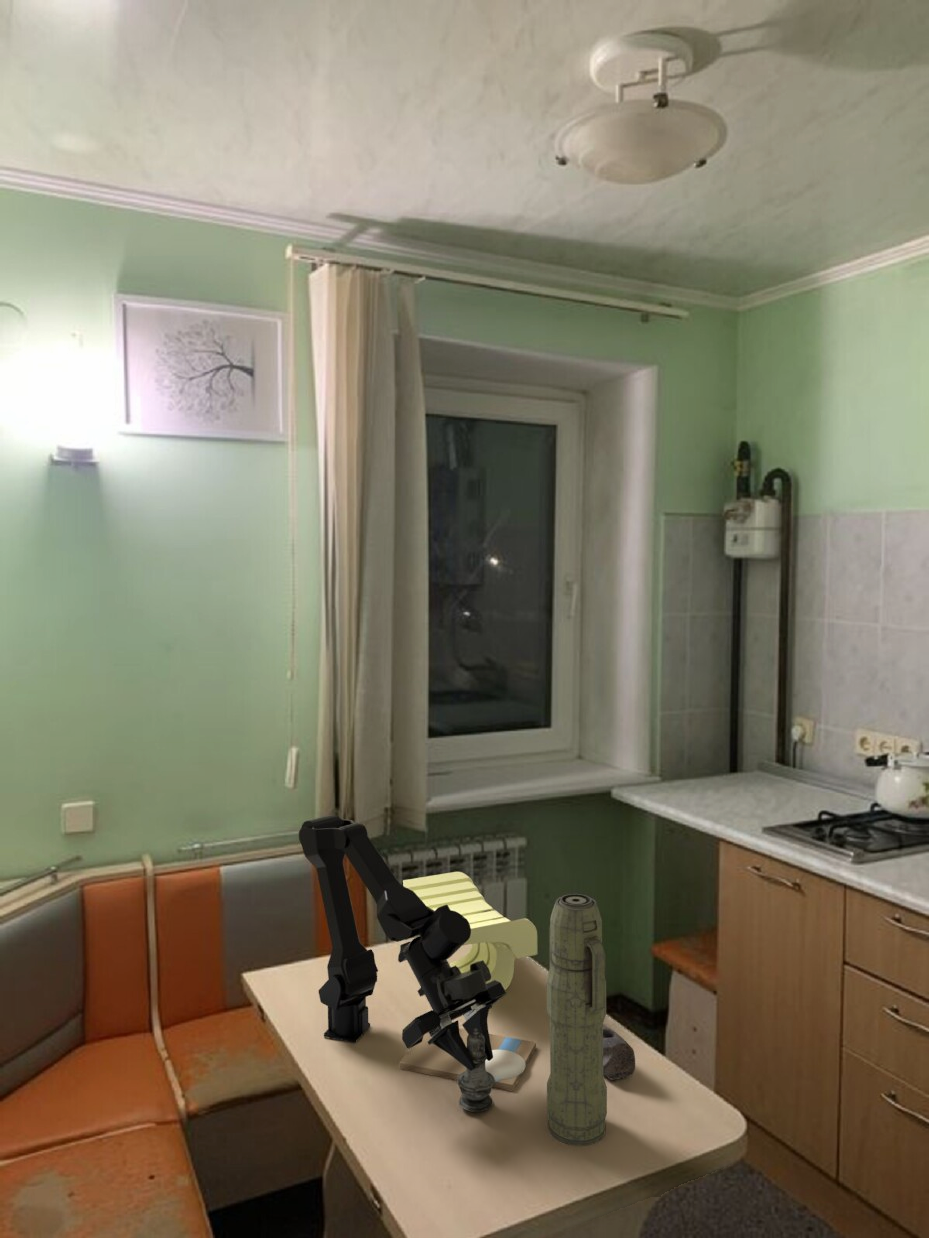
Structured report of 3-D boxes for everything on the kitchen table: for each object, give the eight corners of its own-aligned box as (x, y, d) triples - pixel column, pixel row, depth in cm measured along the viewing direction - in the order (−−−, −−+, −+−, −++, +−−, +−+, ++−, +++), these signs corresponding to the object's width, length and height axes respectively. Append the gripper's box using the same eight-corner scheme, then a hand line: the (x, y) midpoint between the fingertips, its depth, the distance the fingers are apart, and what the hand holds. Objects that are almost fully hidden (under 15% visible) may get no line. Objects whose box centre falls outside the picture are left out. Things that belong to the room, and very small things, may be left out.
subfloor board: (399, 1068, 153) (399, 1062, 153) (430, 1028, 166) (430, 1022, 166) (515, 1091, 146) (515, 1084, 146) (538, 1047, 159) (538, 1041, 159)
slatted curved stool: (537, 1006, 174) (537, 915, 173) (462, 1024, 168) (461, 930, 167) (471, 947, 202) (470, 869, 201) (404, 961, 195) (403, 880, 194)
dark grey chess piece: (468, 1117, 138) (467, 1040, 138) (450, 1096, 143) (450, 1023, 143) (501, 1106, 141) (501, 1031, 140) (483, 1086, 146) (483, 1014, 145)
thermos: (583, 1159, 129) (582, 918, 127) (529, 1119, 139) (527, 894, 137) (626, 1135, 134) (626, 904, 133) (571, 1098, 144) (570, 882, 142)
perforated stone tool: (564, 1047, 160) (564, 1008, 159) (589, 1040, 162) (589, 1002, 161) (611, 1091, 146) (611, 1049, 146) (638, 1084, 148) (638, 1042, 148)
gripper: (413, 967, 137) (465, 1067, 130) (498, 931, 150) (549, 1020, 143) (380, 1000, 143) (428, 1097, 136) (464, 963, 156) (512, 1049, 149)
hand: (482, 1064), depth 141 cm, fingers closed on dark grey chess piece, 4 cm apart
